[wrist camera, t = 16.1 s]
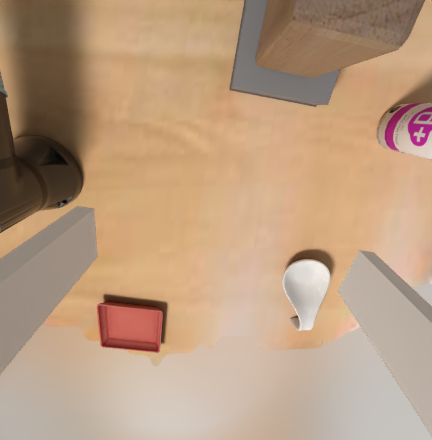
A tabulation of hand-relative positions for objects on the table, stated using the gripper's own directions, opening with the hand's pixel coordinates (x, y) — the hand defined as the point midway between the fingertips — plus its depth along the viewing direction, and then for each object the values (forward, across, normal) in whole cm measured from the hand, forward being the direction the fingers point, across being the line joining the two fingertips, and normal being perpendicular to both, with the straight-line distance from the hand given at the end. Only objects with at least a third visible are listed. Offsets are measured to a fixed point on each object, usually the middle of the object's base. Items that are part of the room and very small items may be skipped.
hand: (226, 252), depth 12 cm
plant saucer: (+39, -17, -55) cm, 70 cm away
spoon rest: (+39, +28, -34) cm, 59 cm away
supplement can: (+39, +33, +9) cm, 52 cm away
